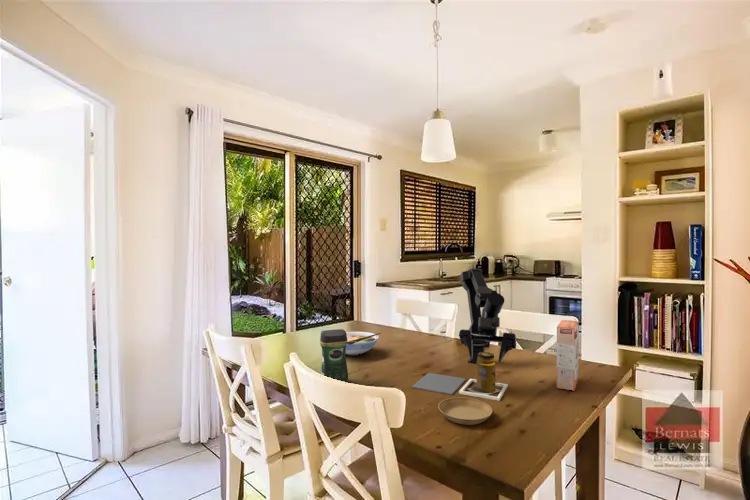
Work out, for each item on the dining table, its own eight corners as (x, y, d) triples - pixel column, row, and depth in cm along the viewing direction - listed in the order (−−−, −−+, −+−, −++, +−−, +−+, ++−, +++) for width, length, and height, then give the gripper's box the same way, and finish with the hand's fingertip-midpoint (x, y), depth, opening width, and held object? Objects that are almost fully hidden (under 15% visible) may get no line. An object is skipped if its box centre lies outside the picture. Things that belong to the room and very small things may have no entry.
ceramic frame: (470, 380, 137) (470, 378, 137) (507, 386, 131) (507, 384, 131) (459, 393, 125) (459, 391, 125) (499, 400, 119) (499, 398, 119)
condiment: (501, 391, 127) (501, 354, 127) (483, 396, 122) (483, 358, 122) (483, 384, 133) (483, 349, 133) (466, 389, 129) (466, 353, 128)
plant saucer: (502, 425, 103) (502, 415, 103) (450, 431, 100) (450, 421, 100) (477, 404, 117) (476, 395, 117) (430, 408, 114) (430, 399, 114)
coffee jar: (345, 377, 142) (344, 326, 141) (350, 384, 134) (349, 331, 134) (318, 380, 139) (318, 328, 138) (322, 388, 131) (321, 333, 131)
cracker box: (576, 392, 125) (575, 327, 125) (555, 388, 128) (555, 325, 128) (579, 379, 137) (579, 320, 137) (560, 376, 140) (560, 319, 140)
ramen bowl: (351, 344, 190) (351, 327, 190) (390, 351, 177) (390, 333, 177) (315, 355, 170) (315, 337, 170) (356, 364, 157) (356, 344, 157)
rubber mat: (428, 373, 145) (428, 372, 145) (465, 379, 138) (465, 378, 138) (411, 387, 131) (411, 386, 131) (451, 395, 124) (451, 393, 124)
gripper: (459, 306, 138) (453, 344, 128) (515, 309, 131) (513, 350, 121) (464, 324, 145) (458, 362, 135) (517, 328, 138) (515, 368, 128)
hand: (485, 360), depth 129 cm, fingers open, 9 cm apart
